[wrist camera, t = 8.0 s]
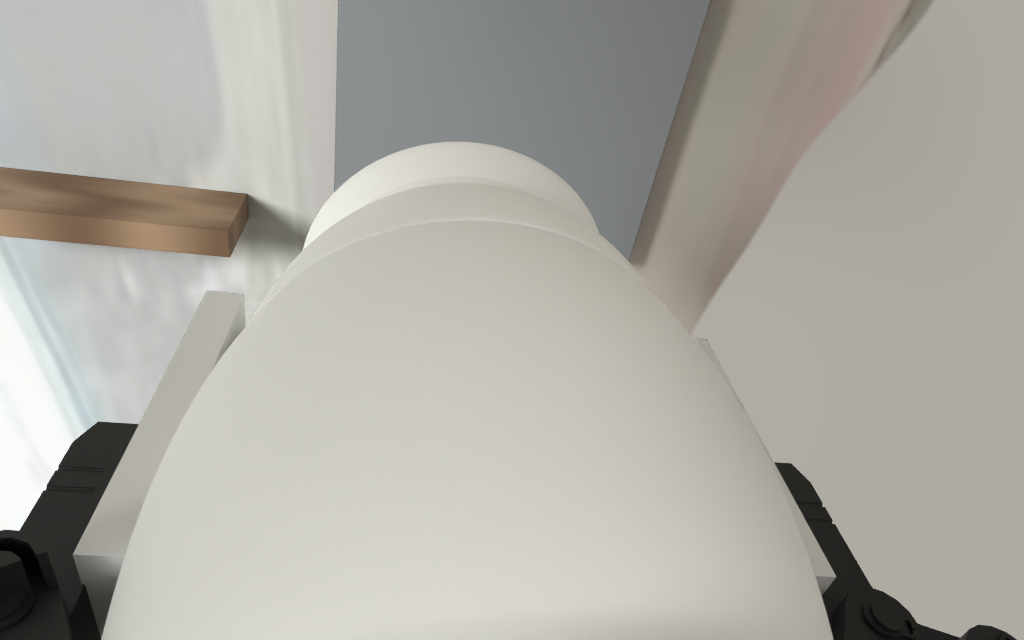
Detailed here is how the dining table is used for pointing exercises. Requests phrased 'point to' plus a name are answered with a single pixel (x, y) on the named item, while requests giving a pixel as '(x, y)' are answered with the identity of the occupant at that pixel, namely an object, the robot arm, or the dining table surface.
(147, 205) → the brown wooden u-shaped frame
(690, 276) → the dining table surface
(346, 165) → the plate
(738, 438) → the jar
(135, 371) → the dining table surface
